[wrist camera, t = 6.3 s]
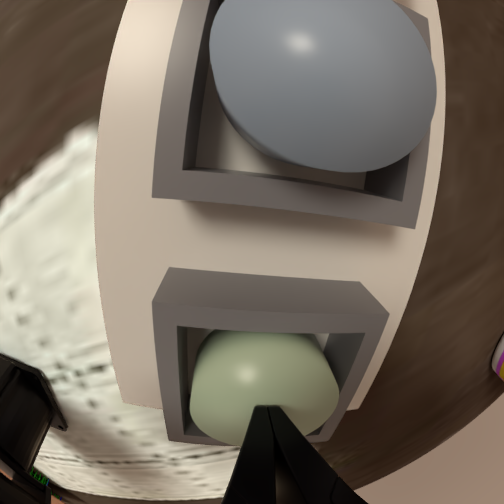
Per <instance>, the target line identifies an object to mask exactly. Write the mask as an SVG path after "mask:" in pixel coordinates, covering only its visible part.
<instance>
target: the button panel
mask: <svg viewBox="0 0 504 504" xmlns="http://www.w3.org/2000/svg"><path fill="white" fill-rule="evenodd" d="M224 1H225V0H128V1H127V4H126V7H125V10H124V13H123V16H122V19H121V22H120V26H119V29H118V32H117V36H116V39H115V43H114V47H113V51H112V55H111V59H110V63H109V68H108V73H107V78H106V83H105V88H104V94H103V100H102V106H101V113H100V121H99V129H98V139H97V150H96V164H95V190H94V218H95V244H96V258H97V270H98V280H99V288H100V296H101V304H102V310H103V317H104V323H105V328H106V334H107V339H108V344H109V349H110V353H111V358H112V362H113V366H114V370H115V374H116V378H117V382H118V386H119V390H120V393H121V397H122V400H123V402H124V403H129V404H134V405H139V406H144V407H150V408H157V409H163V412H164V418H165V424H166V429H167V434H168V439H169V441H175V442H184V443H193V444H205V445H220V446H235V445H230V444H227V443H223V442H221V441H218V440H216V439H214V438H212V437H210V436H208V435H207V434H205V433H204V432H203V431H201V430H200V429H199V428H198V426H197V425H196V424H195V423H194V421H193V419H192V417H191V414H190V399H191V391H192V383H193V375H194V367H195V359H196V354H197V351H198V348H199V346H200V344H201V343H202V341H203V340H204V339H205V338H206V336H207V335H208V334H209V333H210V332H212V331H213V330H214V329H218V330H232V331H249V332H270V333H313V334H314V335H315V336H316V338H317V340H318V342H319V344H320V347H321V349H322V351H323V353H324V355H325V358H326V360H327V362H328V364H329V367H330V369H331V371H332V373H333V376H334V378H335V380H336V382H337V385H338V388H339V400H338V404H337V406H336V408H335V410H334V412H333V413H332V415H331V416H330V417H329V418H328V420H327V421H325V422H324V423H323V424H322V425H321V426H320V427H319V428H317V429H316V430H314V431H313V432H311V433H309V434H307V435H306V436H304V437H305V438H306V439H307V440H308V441H309V443H315V442H323V441H329V439H330V438H331V436H332V434H333V433H334V431H335V429H336V428H337V426H338V424H339V422H340V421H341V419H342V417H343V415H344V414H345V412H346V410H353V409H358V408H359V407H360V405H361V403H362V401H363V399H364V398H365V396H366V394H367V392H368V390H369V388H370V386H371V385H372V383H373V381H374V379H375V377H376V375H377V373H378V371H379V369H380V367H381V364H382V362H383V360H384V358H385V356H386V354H387V352H388V349H389V347H390V345H391V342H392V340H393V338H394V335H395V333H396V331H397V328H398V326H399V323H400V321H401V318H402V315H403V313H404V310H405V307H406V305H407V302H408V299H409V296H410V293H411V291H412V288H413V285H414V281H415V278H416V275H417V272H418V269H419V265H420V262H421V258H422V255H423V251H424V247H425V244H426V240H427V236H428V231H429V227H430V223H431V218H432V214H433V209H434V204H435V198H436V193H437V187H438V180H439V174H440V166H441V158H442V149H443V138H444V123H445V64H444V50H443V40H442V31H441V24H440V17H439V12H438V6H437V1H436V0H392V1H393V2H394V3H395V4H397V5H398V6H399V7H400V8H401V9H402V10H403V11H404V13H405V14H406V15H407V16H408V17H409V18H410V20H411V21H412V22H413V24H414V25H415V26H416V28H417V29H418V31H419V32H420V34H421V36H422V38H423V40H424V41H425V43H426V46H427V48H428V50H429V53H430V55H431V58H432V62H433V65H434V69H435V75H436V83H437V98H436V106H435V111H434V115H433V118H432V121H431V124H430V126H429V128H428V130H427V132H426V134H425V136H424V137H423V138H422V140H421V141H420V142H419V144H418V145H417V146H416V147H415V148H414V149H413V150H412V151H411V152H410V153H409V154H407V155H406V156H404V157H403V158H402V159H400V160H399V161H397V162H395V163H393V164H390V165H388V166H386V167H383V168H379V169H376V170H372V171H365V172H338V171H329V170H323V169H317V168H310V167H303V166H297V165H292V164H288V163H284V162H282V161H279V160H276V159H274V158H272V157H269V156H267V155H265V154H263V153H262V152H260V151H259V150H257V149H256V148H254V147H253V146H252V145H250V144H249V143H248V142H247V141H246V140H244V139H243V138H242V137H241V136H240V134H239V133H238V132H237V131H236V130H235V129H234V128H233V126H232V125H231V123H230V122H229V121H228V119H227V117H226V115H225V113H224V112H223V110H222V107H221V104H220V102H219V99H218V94H217V90H216V85H215V80H214V75H213V70H212V65H211V60H210V48H209V42H210V33H211V28H212V25H213V21H214V18H215V16H216V14H217V12H218V10H219V8H220V6H221V5H222V3H223V2H224Z"/></svg>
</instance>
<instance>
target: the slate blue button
mask: <svg viewBox="0 0 504 504" xmlns="http://www.w3.org/2000/svg"><path fill="white" fill-rule="evenodd" d="M209 48H210V60H211V65H212V70H213V75H214V80H215V85H216V90H217V94H218V99H219V102H220V104H221V107H222V110H223V112H224V113H225V115H226V117H227V119H228V121H229V122H230V123H231V125H232V126H233V128H234V129H235V130H236V131H237V132H238V133H239V134H240V136H241V137H242V138H243V139H244V140H246V141H247V142H248V143H249V144H250V145H252V146H253V147H254V148H256V149H257V150H259V151H260V152H262V153H263V154H265V155H267V156H269V157H272V158H274V159H276V160H279V161H282V162H284V163H288V164H292V165H297V166H303V167H310V168H317V169H323V170H329V171H338V172H365V171H372V170H376V169H379V168H383V167H386V166H388V165H390V164H393V163H395V162H397V161H399V160H400V159H402V158H403V157H404V156H406V155H407V154H409V153H410V152H411V151H412V150H413V149H414V148H415V147H416V146H417V145H418V144H419V142H420V141H421V140H422V138H423V137H424V136H425V134H426V132H427V130H428V128H429V126H430V124H431V121H432V118H433V115H434V111H435V106H436V98H437V83H436V75H435V69H434V65H433V62H432V58H431V55H430V53H429V50H428V48H427V46H426V43H425V41H424V40H423V38H422V36H421V34H420V32H419V31H418V29H417V28H416V26H415V25H414V24H413V22H412V21H411V20H410V18H409V17H408V16H407V15H406V14H405V13H404V11H403V10H402V9H401V8H400V7H399V6H398V5H397V4H395V3H394V2H393V1H392V0H225V1H224V2H223V3H222V5H221V6H220V8H219V10H218V12H217V14H216V16H215V18H214V21H213V25H212V28H211V33H210V42H209Z"/></svg>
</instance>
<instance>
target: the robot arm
mask: <svg viewBox="0 0 504 504" xmlns="http://www.w3.org/2000/svg"><path fill="white" fill-rule="evenodd" d="M50 426H52V427H54V428H57V429H59V430H62V431H67V428H68V425H67V423H66V422H65V420H64V418H63V416H62V415H61V413H60V411H59V409H58V407H57V405H56V403H55V401H54V400H53V398H52V396H51V393H50V391H49V389H48V387H47V385H46V383H45V381H44V379H43V376H42V375H41V373H40V372H39V371H37V370H36V369H34V368H31V367H29V366H26V365H23V364H21V363H18V362H16V361H14V360H11V359H9V358H7V357H4V356H2V355H0V469H1V470H2V471H4V472H5V473H6V474H7V475H9V476H10V477H11V478H12V480H10V479H9V478H8V477H6V476H5V475H4V474H3V473H1V472H0V504H51V488H49V487H48V486H47V485H45V484H43V483H41V482H39V481H38V480H36V479H35V478H34V477H32V476H31V475H30V472H31V469H32V467H33V464H34V462H35V459H36V457H37V455H38V452H39V450H40V448H41V445H42V443H43V441H44V439H45V436H46V434H47V432H48V430H49V428H50ZM221 504H368V503H367V502H366V501H365V500H363V499H362V498H361V497H360V496H358V495H357V494H356V493H355V492H354V491H353V490H352V489H351V488H350V487H349V486H348V485H347V484H346V483H345V482H344V481H343V480H342V479H341V478H340V477H338V475H337V473H336V472H335V471H334V470H333V469H332V468H331V467H330V466H329V465H328V463H327V462H326V461H325V460H324V459H323V458H322V457H321V455H320V454H319V453H318V452H317V451H316V450H315V448H314V447H313V446H312V445H311V444H310V443H309V441H308V440H307V439H306V438H305V437H304V435H303V434H302V433H301V432H300V431H299V429H298V428H297V427H296V426H295V425H294V423H293V422H292V421H291V420H290V418H289V417H288V416H287V415H286V413H285V412H284V411H283V410H282V408H281V407H280V406H267V407H266V406H255V407H254V409H253V412H252V415H251V419H250V422H249V425H248V428H247V431H246V434H245V437H244V440H243V443H242V446H241V449H240V452H239V455H238V458H237V461H236V464H235V467H234V470H233V473H232V476H231V479H230V481H229V484H228V487H227V489H226V492H225V495H224V497H223V500H222V502H221Z"/></svg>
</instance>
